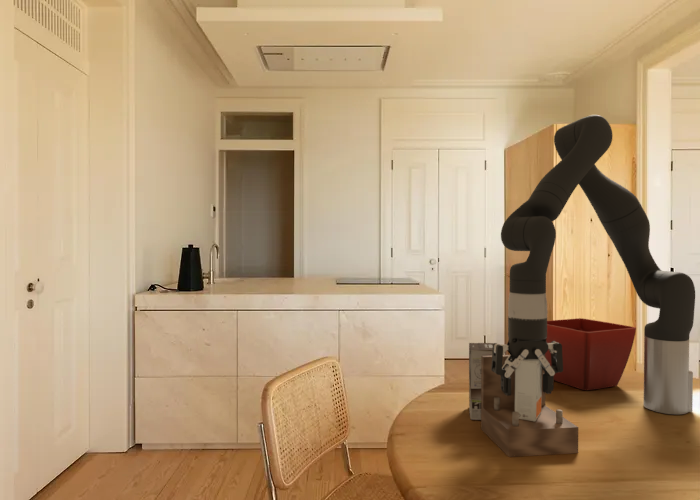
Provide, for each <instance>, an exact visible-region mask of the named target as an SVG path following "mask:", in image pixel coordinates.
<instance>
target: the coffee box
mask: <svg viewBox="0 0 700 500" xmlns="http://www.w3.org/2000/svg"><path fill="white" fill-rule="evenodd" d="M494 343H495V342H469V343H468V408H469V418H470V420H475V421H481V356H490V355H492V350H493V344H494Z"/></svg>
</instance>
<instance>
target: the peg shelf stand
mask: <svg viewBox="0 0 700 500" xmlns="http://www.w3.org/2000/svg"><path fill="white" fill-rule="evenodd" d="M509 355H510V354H504V355H503V360H502V367H503V365H504V364H505V361H506V359H507V358H508V356H509ZM544 357H545V358H546V355H544ZM491 366H492V355H490V356H481V420H480V429H481V431H482V432H483V433H484V434H486V435H487V437H489V439H490V440H491V441H492V442H493V443H494V444H495V445H496V446H497V447H498V448H500V450H501V451H502V452H503V453H504V455H506V456H507V457H510V458H511V457H528V456H545V455H546V456H547V455H564V454H565V455H566V454H578V453H579V426H577V425H575V424H574V423H573V422H571V421H570V420H568V419H567V418H566V417H564V415H563V413H564V412H563V410H562V409H556V410H555V411H554V410H553V409H551V408H550V407H548V406H547V405H546V393H545V392H543V374H545V372H544V371H543V370H542V399H541V414H540V415H539V417H538V418H537V420H536V421H535V422H534V421H528V420H523V419H519V412H516V411H515V370H514V371H513V373H512V374H511V375H510V378H511V396H507V395H505V394H504V392H503V391H502V390H501V375H497V374H496V373H495V372H493V371H492V370H491Z"/></svg>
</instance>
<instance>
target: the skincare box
mask: <svg viewBox="0 0 700 500" xmlns="http://www.w3.org/2000/svg"><path fill="white" fill-rule="evenodd" d="M541 399H542V366H541V362H540V361H539V359H523V360H521V363H520V365H519V366H518V368H517V369H515V411H516V412H519V419H523V420H528V421H534V422H535V421H536V420H537V418H538V417H539V415H540V414H541Z"/></svg>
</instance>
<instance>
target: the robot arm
mask: <svg viewBox="0 0 700 500" xmlns="http://www.w3.org/2000/svg"><path fill="white" fill-rule="evenodd" d="M613 135H614V134H613V130H612V127H611V125H610V123H609V121H608V120H607V119H606V118H605V117H604V116H602V115H598V114H590V115H587V116H584V117H582V118H579V119H577V120H575V121H573V122H570V123H568V124H566V125H564V126H561V127H560V128H558V129H557V130H556V131H555V133H554V136H553V143H554V146H555V147H554V148H555V150H556V153H557V154H558V156H559V158H560V161H559V162H558V163H557V164H555V165H554V167H553V168H551V169H550V170H549V171H548V172H547V173H545V175H544V176H543V177H542V178H541V179H540V181H539V182H538V183H537V185H536V186H535V188H534V190H533V191H532V193H531V194H530V196H529V198H528V199H527V200H526V201H524V202H523V203H522V204H521V205H520V206H519V207H517V208H516V209H515V210H514V211H513V212H512V213H511V214H510V215H509V216H508V217H507V218H506V219H505V221H504V223H503V224H502V226H501V227H502V228H501V231H500V240H501V243H502V245H503V246H504V248H506V249H507V250H509V251H513V252H529V254H528V257H527V259H526V260H525V261H524V262H519V263H514V264H512V265H511V266H510V268H509V293H508V294H509V295H508V302H507V303H508V304H507V307H508V308H507V339H508V341H507V343H506V344H505V343H504V344H499V343H498V342H493V343H494V344H493V350H492V366H491V370H492V371H493V372H495V373H496V374H497V375H501V390H502V391H503V392H504V394H505V395H507V396H511V378H510V375H511V374H512V373H513V371H514V370H515V369H517V368H518V366H519V365H520V363H521V360H523V359H539V361H540V362H541V366H542V370H543V371H544V372H545V374H543V392H545V395H551V394H552V392H553V391H554V381H555V380H554V375H555V374H556V373H558V372H562V371H563V355H562V345H561V344H560V343H557V342H555V341H552V342H551V343H547V342H546V338H547V321H548V301H547V272H548V267H549V264H550V260H551V256H552V253H553V251H554V246H555V243H556V238H557V231H556V227H555V224H554V223H553V222H554V221H556V220H557V219H558V218H559V216H560V215H561V213H562V212H563V209H564V208H565V207H566V205H567V203H568V202H569V199H570V197H571V196H572V194H573V193H574V191H575V189H576V188H577V187H578V186H579V187H580V188H581V190H582V191H583V193H584V194H585V197H586V198H587V200H588V201H589V203H590V205H591V206H592V208H593V209H594V212H595V214H596V216H597V218H598V220H599V222H600V223H601V225H602V227H603V229H604V230H605V232H606V233H607V235H608V237H609V239H610V240H611V242H612V243H613V246H614V248H615V250H616V252H617V253H618V255H619V257H620V258H621V260H622V263H623V264H624V267H625V268H626V271H627V274H628V275H629V278H630V280H631V283H632V285H633V288H634V290H635V292H636V294H637V296H638V298H639V299H640V301H641V302H642V303H643V304H644V305H646V306H648V307H650V308H655V309H659V314H658V318H657V320H655V321H653V322H648V323H646V324H645V325H644V330H643V331H644V334H643V336H644V337H643V343H644V344H643V347H644V348H643V351H644V352H643V353H644V354H643V407H644V408H646V409H647V410H650V411H653V412H657V413H659V414H660V413H661V414H666V415H686V414H688V413H691V412H693V400H694V399H693V396H694V395H693V390H694V389H693V386H694V385H693V384H694V382H693V381H694V373H693V371H692V370H690V333H691V331H692V329H693V326H694V321H695V319H694V318H695V306H696V290H695V289H696V287H695V283H694V281H693V279H692V278H691V276H689V275H688V274H686V273H684V272H680V271H668V270H662V269H661V268H660V267H659V266H658V264H657V263H656V260H655V259H654V258H653V257H654V256H652V253H651V250H650V245H649V242H650V235H651V232H650V231H651V226H650V225H651V224H650V220H649V218H648V216H647V213H646V212H645V209H644V208H643V207H642V206H643V205H642V204H641V202H640V201H639V199H638V198H637V196H636V195H635V193H633V192H632V191H630V190H629V189H627V188H626V187H624V186H623V185H621V184H619V183H618V182H616V181H614V179H613V180H612V179H611V178H609V177H608V176H606V175H605V174H604V173H603V172H602V171H600V169H599V168H598V167H597V165H596V164H597V162H598V161H599V160H600V159H601V158H602V157H603V155H605V153H607V151H608V150H609V148H610V147H611V144H612V141H613ZM548 349H549V352H550V353H551V365H552V366H550V364H549V362H548V361H547V360H546V358H545V357H544V355H545V353H546V352H547V351H548ZM506 352H508V355H509V356H508V358H507V359H506V361H505V364H504V365H503V367H502V360H503V355H506Z"/></svg>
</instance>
